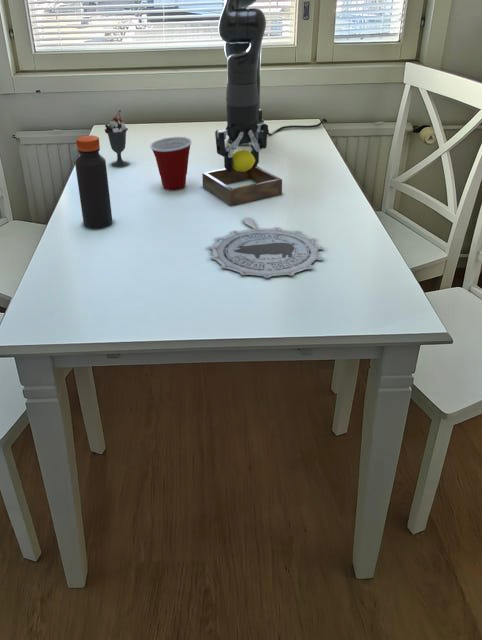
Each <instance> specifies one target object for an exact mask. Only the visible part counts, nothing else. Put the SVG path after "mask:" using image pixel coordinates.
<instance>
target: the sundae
mask: <svg viewBox="0 0 482 640" xmlns="http://www.w3.org/2000/svg"><path fill="white" fill-rule="evenodd" d="M121 112H122V110H118V112H117V114H116V116H113V118H112V119H111V120H110V121H109V123H106V124H105V125H104V127H105V129H104V132H105V134H107V136H108V141H109V145H110V148H111V150H112V151H113V152H115V153H116V161H113V162H112V163H111V167H114V168H123V167H126V166H129V162H128V161H125V160H123V158H122V153H123V152H124V150H125V149H126V143H127V141H126V140H127V131H128V130H129V128H128V127H127V126H126V124H125V123H124V122H123V119H122V118H121ZM118 115H119V118H118Z"/></svg>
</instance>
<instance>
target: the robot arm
mask: <svg viewBox="0 0 482 640" xmlns="http://www.w3.org/2000/svg"><path fill="white" fill-rule="evenodd" d="M256 1H257V0H223V3H224V5H223V9H222V12H221V14H220V17H219V22H218V34H219V37H220V38H221V40H222V41H223V44H224V45H223V46H224V47H223V49H224V54H225V57H226V58H227V61H226V69H227V70H226V73H227V74H226V78H227V80H226V82H227V84H226V90H225V91H226V93H225V95H226V97H225V100H226V107H225V108H226V124H227V125H226V127H225V129H223V130H219V129H216V130H215V132H214V135H215V136H214V137H215V147H216V153H217V155H219V156H221V157H223V163H224V164H223V166H224V168H225V169H226V170H227V171H229V172H232V171H233V158H232V155H233V153H235V151H237V148H238V146H249V147H250V149H251V150H250V152H251V154H252V155H253V156H254V158H255V163H254V165H253V167H256V166H258V165H259V163H260V152H261V150H262V149H264V150H265V149H266V148H267V143H268V136H269V137H270V136H273V135H274V134H276V133H278V132H280V131H282V130H284V129H293V128H294V129H295V128H296V129H305V128H306V129H312V128H317V127H320V126H321V125H322V124H323V123H328V120H327V119H326V118H322V119H321V120H320V122H318V123H317V124H312V125H311V124H309V125H295V124H294V125H293V124H292V125H284V126H281V127H279V128H277V129H276V130H275V131H274V132H272V133H270V130H269V125H268V124H266V123H265V120H264V119H263V109H261V60H262V45H263V39H264V35H265V31H266V27H267V19H266V16H265V14H264V12H263V11H262V10H261V9H260V8H249V7H250V6H252V5H254V4H255V3H256ZM227 137H228V138H227ZM226 139H227V140H226Z"/></svg>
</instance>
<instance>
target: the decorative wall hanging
mask: <svg viewBox="0 0 482 640" xmlns="http://www.w3.org/2000/svg"><path fill="white" fill-rule="evenodd" d="M243 223H244V224H246V226H248V227H251V228H252V229H248V230H242V231H237V230H234V231H233V232H232V233H231V234H228V235H227V236H224V237H219V238H217V240H218V241H217V242H216V243H215V244H214V245H213V246H210V247H209V249H210V250H212V256H211V257H210V260H214V261H216V262H217V263H218V264H219V265H221V266H220V268H221V269H225V270H226V269H228V270H231V271H234V272H237V273H239V274H240V276H247V275H249V276H257V277H258V276H259V277H264V278H266V279H269V278H271V277H276V276H286V275H287V276H291V277H292V276H295V274H296V273H299V272H302V271H304V270H313V269H314V267H313V265H312V264H313V263H314V262H315V261H316V260H318V261H322V260H324V257H321V256H319V250H324V249H325V248H324V247H323V246H319V245H318V244H315V243H316V242H315V240H316V238H314V237H311V238H310V237H308V236H304V235H303V234H301V233H300V231H293V232H289V231H285V230H281V229H280V227H274V228H258V227H257V226H256V225H255V222H254V220H252V219H251V218H249V217H248V218H247V217H246V218H245V219H244V222H243Z"/></svg>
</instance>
